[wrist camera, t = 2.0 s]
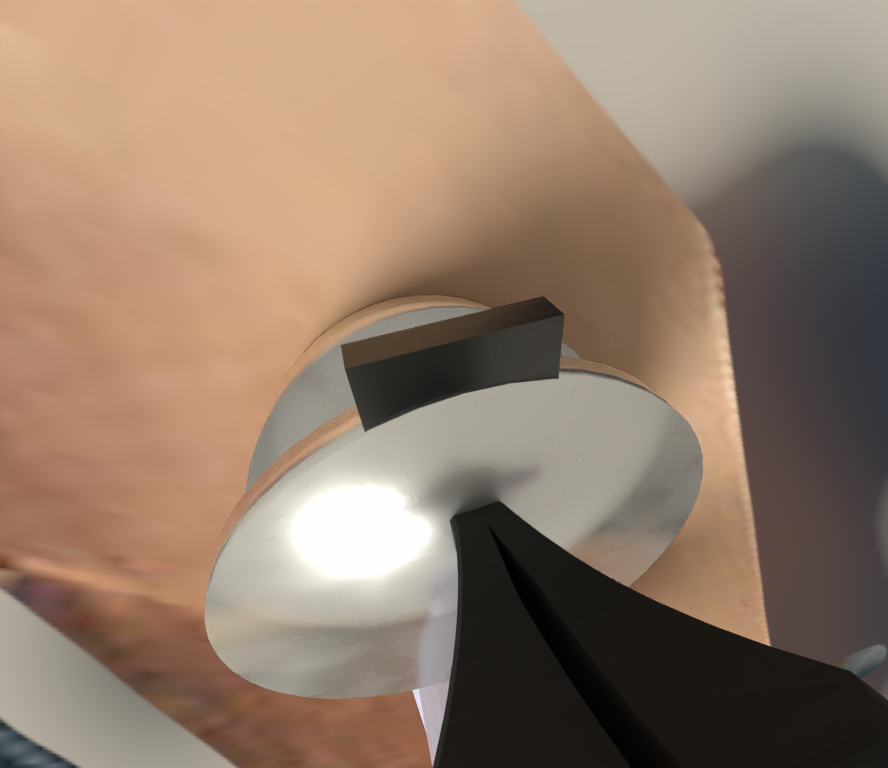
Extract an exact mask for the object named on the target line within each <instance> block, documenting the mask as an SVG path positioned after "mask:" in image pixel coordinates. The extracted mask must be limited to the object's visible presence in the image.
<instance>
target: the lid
mask: <svg viewBox="0 0 888 768" xmlns="http://www.w3.org/2000/svg"><path fill="white" fill-rule="evenodd" d="M563 323H564V314H563V313H562V312H561V311H560V310H559V309H557V308H556V307H555V306H554V305H553V304H552V303H551V302H550V301H548V300H547V299H546V298H545V297H544V296H543V297H539V298H534V299H530V300H526V301H522V302H518V303H514V304H509V305H505V306H501V307H497V308H493V309H488V310H484V311H480V312H476V313H472V314H467V315H463V316H459V317H455V318H451V319H447V320H442V321H438V322H434V323H430V324H426V325H421V326H417V327H413V328H409V329H405V330H401V331H396V332H392V333H388V334H384V335H380V336H375V337H371V338H367V339H363V340H359V341H355V342H350V343H346V344H342V345H341V350H342V356H343V362H344V368H345V372H346V375H347V378H348V381H349V384H350V387H351V390H352V394H353V397H354V400H355V403H356V405H355V406H353V407H351V408H350V409H348V410H346V411H344V412H343V413H341V414H339V415H337V416H335V417H334V418H332V419H330V420H328V421H327V422H325V423H323V424H322V425H321V426H319V427H318V428H316V429H315V430H314V431H312V432H311V433H309V434H308V435H307V436H305V437H304V438H303V439H301V440H300V441H298V442H297V443H296V444H294V445H293V446H292V447H290V448H289V449H288V450H287V451H286V452H284V453H283V454H282V455H281V456H280V457H279V458H278V459H277V460H276V461H275V462H274V463H273V464H272V465H270V466H269V467H268V468H267V469H266V470H265V471H264V472H263V473H262V474H261V475H260V476H259V477H258V478H257V479H256V481H255V482H254V483H253V484H252V486H251V487H250V488H249V489H248V490H247V492H246V493H245V494H244V495H243V497H242V498H241V499H240V500H239V502H238V503H237V504H236V506H235V508H234V510H233V511H232V513H231V515H230V517H229V518H228V520H227V522H226V524H225V525H224V527H223V529H222V531H221V534H220V537H219V540H218V543H217V546H216V549H215V552H214V555H213V560H212V566H211V572H210V578H209V584H208V589H207V595H206V606H205V618H204V620H205V625H206V629H207V634H208V639H209V641H210V643H211V645H212V647H213V648H214V650H215V652H216V654H217V656H218V657H219V658H220V659H221V660H222V661H223V662H224V663H225V664H226V665H227V666H228V667H229V668H230V669H231V670H232V671H234V672H235V673H237V674H238V675H240V676H241V677H243V678H244V679H246V680H248V681H250V682H252V683H255V684H257V685H259V686H262V687H264V688H267V689H270V690H274V691H278V692H282V693H285V694H291V695H297V696H304V697H314V698H359V697H371V696H380V695H387V694H393V693H400V692H405V691H410V690H415V689H420V688H424V687H428V686H432V685H436V684H440V683H444V682H447V681H450V675H451V668H452V661H453V653H454V644H455V634H456V622H457V600H458V568H457V552H456V547H455V543H454V539H453V534H452V530H451V525H450V519H451V518H452V517H453V516H455V515H458V514H461V513H464V512H467V511H471V510H474V509H477V508H480V507H483V506H486V505H489V504H492V503H495V502H498V501H500V502H502V503H504V504H505V505H506V506H507V507H508V508H510V509H511V510H512V511H513V512H514V513H516V514H517V515H518V516H519V517H521V518H522V519H523V520H525V521H526V522H527V523H528V524H530V525H531V526H532V527H534V528H535V529H536V530H538V531H539V532H540V533H542V534H543V535H545V536H546V537H547V538H549V539H550V540H552V541H553V542H555V543H556V544H557V545H559V546H560V547H562V548H563V549H565V550H566V551H568V552H569V553H571V554H572V555H574V556H575V557H577V558H578V559H580V560H582V561H583V562H585V563H587V564H588V565H590V566H591V567H593V568H595V569H596V570H598V571H600V572H601V573H603V574H605V575H607V576H608V577H610V578H612V579H614V580H616V581H617V582H619V583H621V584H623V585H625V586H627V587H629V586H630V585H631V584H632V583H634V582H635V581H636V580H637V579H638V578H639V577H640V576H641V575H642V574H643V573H645V572H646V570H647V569H648V568H649V567H650V566H651V565H652V564H653V563H654V562H655V561H656V560H657V559H658V558H659V557H660V556H661V555H662V553H663V552H664V551H665V550H666V548H667V547H668V546H669V545H670V544H671V542H672V541H673V540H674V538H675V537H676V535H677V534H678V532H679V531H680V529H681V528H682V527H683V525H684V523H685V521H686V519H687V518H688V516H689V514H690V512H691V510H692V508H693V506H694V503H695V500H696V498H697V495H698V492H699V489H700V484H701V479H702V474H703V466H702V452H701V448H700V444H699V441H698V438H697V436H696V434H695V433H694V431H693V429H692V427H691V426H690V424H689V423H688V422H687V421H686V420H685V419H684V418H683V417H682V416H681V415H680V414H679V413H678V412H677V411H676V410H675V409H674V408H673V407H672V406H671V405H670V404H668V403H667V402H666V401H665V400H664V399H663V398H662V397H660V396H659V395H658V394H657V393H656V392H655V391H654V390H652V389H651V388H650V387H649V386H648V385H647V384H645V383H643V382H642V381H640V380H638V379H637V378H635V377H633V376H632V375H630V374H629V373H627V372H624V371H622V370H619V369H616V368H613V367H611V366H608V365H605V364H603V363H599V362H593V361H588V360H582V359H577V358H572V357H561V346H562V334H563Z"/></svg>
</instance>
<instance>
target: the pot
mask: <svg viewBox="0 0 888 768" xmlns="http://www.w3.org/2000/svg"><path fill="white" fill-rule="evenodd" d="M488 309H493V308H490V307H488V306H485V305H482V304H480V303H477V302H474V301H470V300H466V299H462V298H458V297H451V296H443V295H413V296H407V297H400V298H394V299H390V300H387V301H383V302H380V303H377V304H373V305H371V306H368V307H366V308H364V309H362V310H360V311H357V312H355V313H353V314H351V315H349V316H348V317H346V318H344V319H343V320H341V321H340V322H338V323H336V324H335V325H333V326H332V327H331V328H329V329H328V330H327V331H326V332H324V333H323V334H322V335H321V336H320V337H318V338H317V339H316V340H315V341H314V342H313V343H312V344H311V345H310V346H309V347H308V348H307V350H306V351H305V352H304V353H303V354H302V355H301V356H300V357H299V359H298V360H297V362H296V363H295V365H294V366H293V368H292V369H291V370H290V372H289V373H288V375H287V377H286V379H285V381H284V383H283V385H282V387H281V389H280V391H279V393H278V395H277V398H276V400H275V402H274V404H273V407H272V409H271V411H270V413H269V416H268V418H267V420H266V422H265V425H264V427H263V429H262V432H261V434H260V436H259V438H258V441H257V444H256V447H255V450H254V453H253V457H252V460H251V463H250V467H249V474H248V480H247V486H246V492H247V490H248V489H249V488H250V487H251V486H252V484H253V483H254V482H255V481H256V479H257V478H258V477H259V476H260V475H261V474H262V473H263V472H264V471H265V470H266V469H267V468H268V467H269V466H270V465H272V464H273V463H274V462H275V461H276V460H277V459H278V458H279V457H280V456H281V455H282V454H283V453H284V452H286V451H287V450H288V449H289V448H290V447H292V446H293V445H294V444H296V443H297V442H298V441H300V440H301V439H303V438H304V437H305V436H307V435H308V434H309V433H311V432H312V431H314V430H315V429H316V428H318V427H319V426H321V425H322V424H323V423H325V422H327V421H328V420H330V419H332V418H334V417H335V416H337V415H339V414H341V413H343V412H344V411H346V410H348V409H350V408H351V407H353V406H355V405H356V403H355V400H354V397H353V394H352V390H351V387H350V384H349V381H348V378H347V375H346V372H345V368H344V362H343V356H342V350H341V345H342V344H346V343H350V342H355V341H359V340H363V339H367V338H371V337H375V336H380V335H384V334H388V333H392V332H396V331H401V330H405V329H409V328H413V327H417V326H421V325H426V324H430V323H434V322H438V321H442V320H447V319H451V318H455V317H459V316H463V315H467V314H472V313H476V312H480V311H484V310H488ZM561 357H572V358H577V359H581V358H580V357H579V356H578V354H577V353H575V352H574V351H573V350H572V349H571V348H569V347H568V346H567V345H566V344H565V343H564V342H562V346H561Z"/></svg>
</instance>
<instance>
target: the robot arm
mask: <svg viewBox="0 0 888 768" xmlns="http://www.w3.org/2000/svg"><path fill="white" fill-rule="evenodd" d="M450 525H451V530H452V534H453V539H454V543H455V547H456V552H457V568H458V600H457V622H456V634H455V644H454V653H453V661H452V668H451V675H450V681H447V682H444V683H440V684H436V685H432V686H428V687H424V688H420V689H415V690H413V693H414V696H415V699H416V703H417V706H418V709H419V712H420V715H421V718H422V721H423V724H424V727H425V730H426V734H427V739H428V744H429V750H430V756H431V761H432V767H433V768H888V700H887V699H886V698H885V697H883V696H882V695H881V694H879V693H878V692H877V691H876V690H874V689H873V688H872V687H870V686H869V685H867V684H866V683H865V682H864V681H862V680H861V679H860V678H859V677H857V676H856V675H855V674H853V673H852V672H851V671H848V670H845V669H842V668H838V667H835V666H832V665H829V664H825V663H822V662H819V661H816V660H812V659H809V658H806V657H803V656H799V655H796V654H793V653H790V652H786V651H783V650H780V649H777V648H773V647H770V646H767V645H765V644H762V643H759V642H756V641H753V640H751V639H748V638H745V637H742V636H740V635H737V634H734V633H731V632H729V631H726V630H723V629H720V628H718V627H715V626H713V625H710V624H708V623H705V622H703V621H701V620H698V619H696V618H694V617H691V616H689V615H687V614H684V613H682V612H680V611H677V610H675V609H673V608H670V607H668V606H666V605H663V604H661V603H659V602H657V601H655V600H653V599H651V598H648V597H646V596H644V595H642V594H640V593H638V592H636V591H634V590H633V589H631V588H629V587H627V586H625V585H623V584H621V583H619V582H617V581H616V580H614V579H612V578H610V577H608V576H607V575H605V574H603V573H601V572H600V571H598V570H596V569H595V568H593V567H591V566H590V565H588V564H587V563H585V562H583V561H582V560H580V559H578V558H577V557H575V556H574V555H572V554H571V553H569V552H568V551H566V550H565V549H563V548H562V547H560V546H559V545H557V544H556V543H555V542H553V541H552V540H550V539H549V538H547V537H546V536H545V535H543V534H542V533H540V532H539V531H538V530H536V529H535V528H534V527H532V526H531V525H530V524H528V523H527V522H526V521H525V520H523V519H522V518H521V517H519V516H518V515H517V514H516V513H514V512H513V511H512V510H511V509H510V508H508V507H507V506H506V505H505V504H504V503H502V502H500V501H498V502H495V503H492V504H489V505H486V506H483V507H480V508H477V509H474V510H471V511H467V512H464V513H461V514H458V515H455V516H453V517H452V518H451V519H450Z"/></svg>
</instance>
